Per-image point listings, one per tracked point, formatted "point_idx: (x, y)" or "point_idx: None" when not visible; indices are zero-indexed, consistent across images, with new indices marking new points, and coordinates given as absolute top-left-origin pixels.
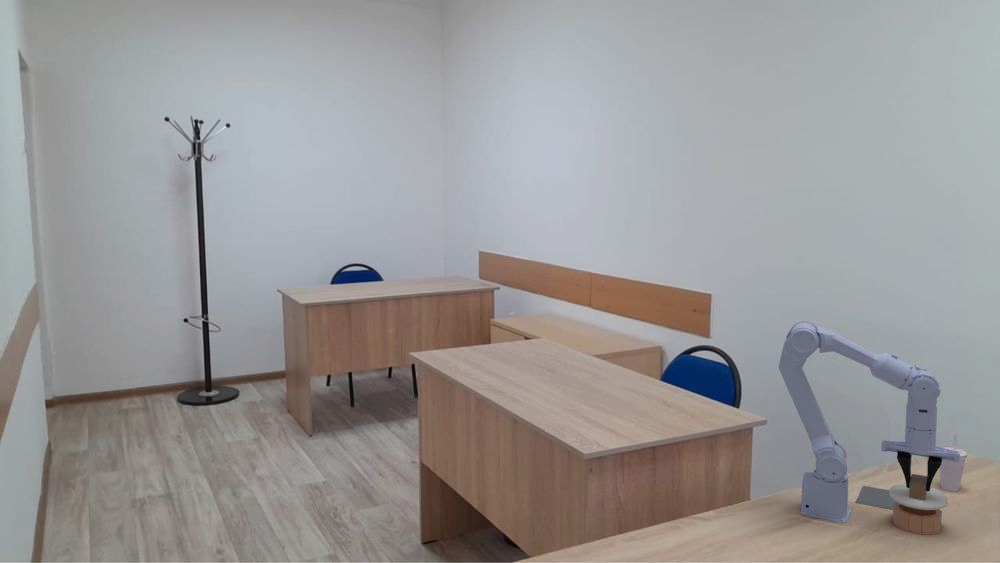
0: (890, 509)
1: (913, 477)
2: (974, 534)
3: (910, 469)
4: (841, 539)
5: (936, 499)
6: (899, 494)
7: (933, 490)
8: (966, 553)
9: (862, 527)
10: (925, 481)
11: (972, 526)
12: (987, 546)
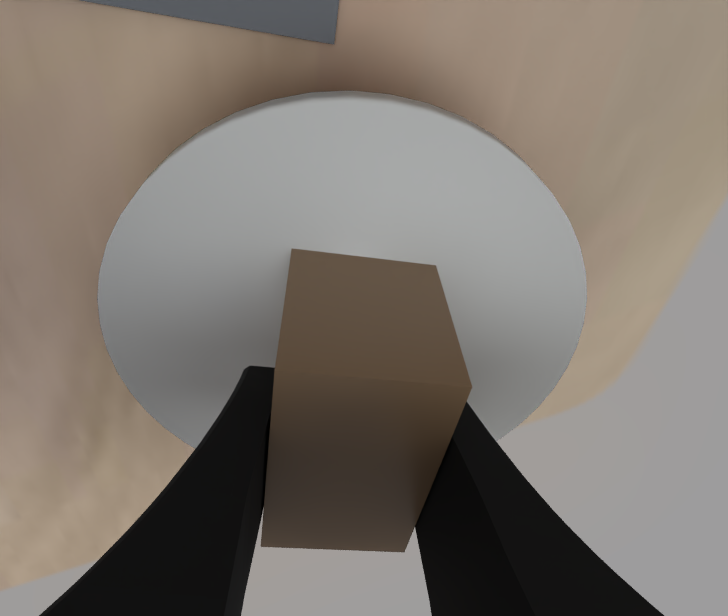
0: (162, 14)
1: (296, 455)
2: (635, 217)
3: (244, 524)
4: (40, 482)
5: (478, 384)
6: (200, 388)
7: (505, 223)
8: None
9: (76, 350)
10: (416, 499)
11: (682, 92)
12: (633, 333)
